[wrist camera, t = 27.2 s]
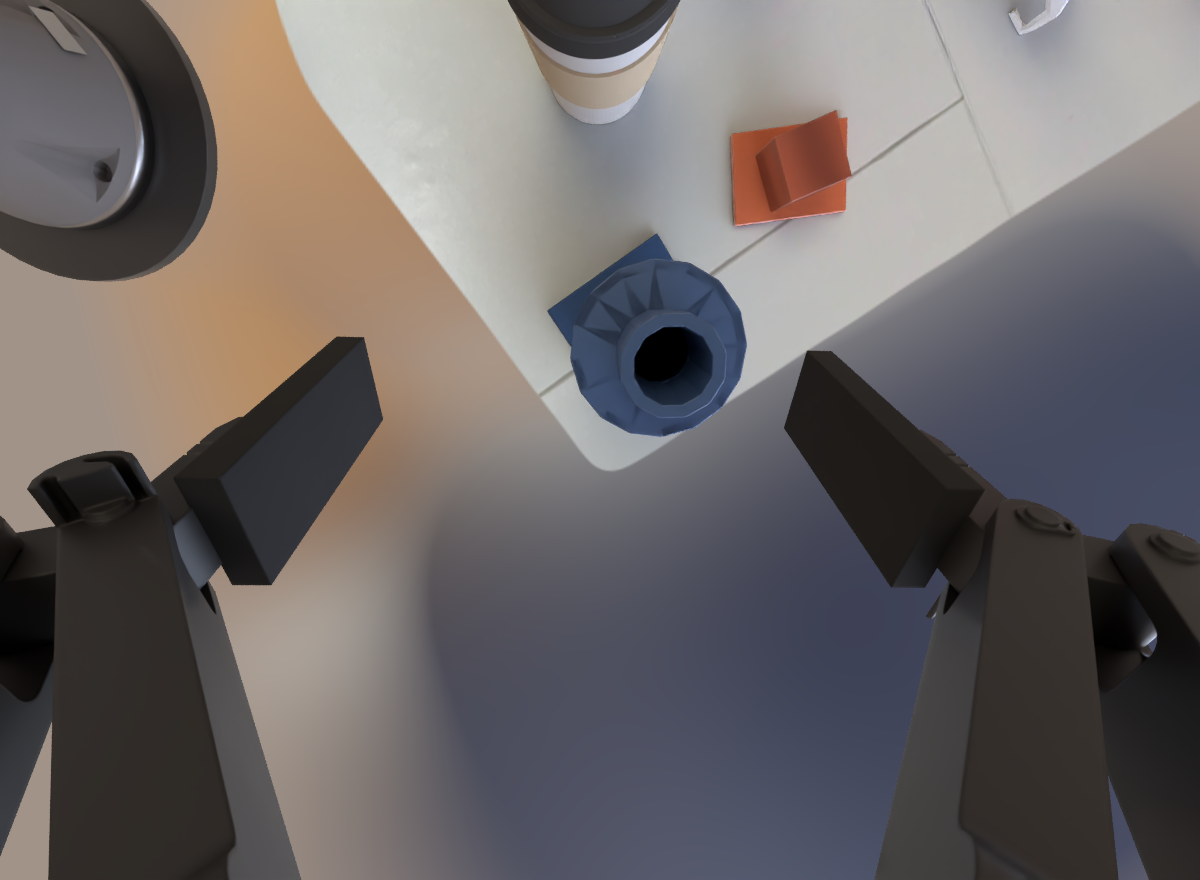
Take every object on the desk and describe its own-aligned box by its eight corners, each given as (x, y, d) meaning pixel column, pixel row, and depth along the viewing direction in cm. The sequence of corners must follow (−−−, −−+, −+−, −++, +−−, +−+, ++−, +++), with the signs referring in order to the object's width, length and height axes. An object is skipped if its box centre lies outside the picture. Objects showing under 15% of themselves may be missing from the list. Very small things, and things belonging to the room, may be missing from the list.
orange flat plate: (733, 226, 36) (735, 225, 35) (729, 136, 34) (731, 133, 34) (842, 212, 36) (845, 210, 35) (843, 120, 34) (847, 116, 33)
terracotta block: (771, 212, 35) (791, 202, 31) (755, 155, 34) (774, 137, 30) (824, 189, 35) (852, 176, 31) (810, 131, 34) (836, 109, 30)
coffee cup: (655, 148, 34) (693, 39, 20) (529, 137, 34) (476, 21, 20) (670, -6, 32) (724, -256, 18) (534, -17, 32) (476, -279, 17)
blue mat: (617, 414, 40) (617, 415, 39) (547, 310, 38) (546, 310, 37) (722, 346, 38) (724, 347, 38) (656, 234, 36) (657, 233, 35)
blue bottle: (566, 350, 38) (524, 408, 18) (616, 256, 36) (632, 201, 16) (654, 399, 39) (707, 505, 19) (707, 309, 37) (830, 322, 17)
